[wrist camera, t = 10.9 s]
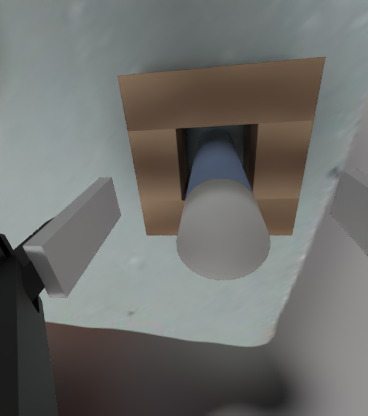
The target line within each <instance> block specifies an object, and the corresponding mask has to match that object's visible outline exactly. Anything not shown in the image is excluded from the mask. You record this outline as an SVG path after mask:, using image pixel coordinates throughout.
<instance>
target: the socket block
mask: <svg viewBox="0 0 368 416" xmlns="http://www.w3.org/2000/svg"><path fill="white" fill-rule="evenodd" d="M324 62H325V57H317V58H306V59H295V60H284V61H273V62H262V63H252V64H241V65H230V66H219V67H208V68H197V69H186V70H175V71H164V72H153V73H142V74H131V75H121V76H118V81H119V86H120V91H121V97H122V102H123V108H124V113H125V119H126V124H127V130H128V135H129V141H130V146H131V152H132V157H133V163H134V168H135V174H136V179H137V185H138V190H139V195H140V201H141V206H142V212H143V217H144V223H145V228H146V234H147V235H178V231H179V226H180V221H181V217H182V212H183V208H184V203H185V199H186V194H187V189H188V185H189V180H190V176H191V175H188V167H187V152H186V137H185V128H195V127H211V126H228V125H245V142H244V160H243V169H244V172H245V174H246V177H247V179H248V182H249V184H250V187H251V189H252V192H253V194H254V197H255V200H256V202H257V205H258V207H259V210H260V212H261V215H262V217H263V220H264V222H265V225H266V227H267V230H268V233H269V235H292V233H293V228H294V222H295V217H296V212H297V206H298V201H299V196H300V190H301V185H302V180H303V174H304V169H305V164H306V158H307V153H308V148H309V142H310V137H311V132H312V126H313V121H314V116H315V110H316V105H317V100H318V94H319V89H320V84H321V78H322V73H323V68H324Z"/></svg>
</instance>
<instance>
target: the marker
mask: <svg viewBox="0 0 368 416" xmlns="http://www.w3.org/2000/svg"><path fill="white" fill-rule="evenodd" d="M269 250H270V236H269V233H268V230H267V227H266V225H265V222H264V220H263V217H262V215H261V212H260V210H259V207H258V205H257V202H256V200H255V197H254V194H253V192H252V189H251V187H250V184H249V182H248V179H247V177H246V174H245V172H244V169H243V166H242V164H241V161H240V159H239V156H238V154H237V151H236V149H235V146H234V144H233V141H232V139H231V137H230V135H229V134H228V133H227V132H226V131H224V130H222V129H218V128H214V129H210V130H207V131H206V132H204V133H203V134H202V135H201V136H200V138H199V140H198V144H197V148H196V153H195V157H194V162H193V166H192V171H191V176H190V180H189V185H188V189H187V194H186V199H185V203H184V208H183V212H182V217H181V221H180V226H179V231H178V235H177V251H178V254H179V256H180V258H181V260H182V261H183V263H184V264H185V265H186V266H187V267H188V268H189V269H190V270H192V271H193V272H195V273H197V274H198V275H200V276H203V277H206V278H209V279H215V280H232V279H237V278H241V277H244V276H246V275H248V274H250V273H252V272H254V271H255V270H256V269H258V268H259V267H260V266H261V265H262V263H263V262H264V261H265V259H266V258H267V256H268V253H269Z"/></svg>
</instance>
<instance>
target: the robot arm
mask: <svg viewBox="0 0 368 416" xmlns="http://www.w3.org/2000/svg"><path fill="white" fill-rule="evenodd" d="M330 214H331V215H332V216H333V218H334V219H335V220H336V221H337V222H338V223H339V224H340V225H341V227H342V228H343V229H344V230H345V231H346V232H347V233H348V234H349V235H350V237H351V238H352V239H353V240H354V241H355V242H356V243H357V244H358V246H360V248H361V249H362V250H363V251H364V252H365V253H366V255H367V256H368V175H366V174H364V173H363V172H361V171H359V170H358V169H356V170H355V169H354V170H342V172H341V176H340V180H339V183H338V187H337V190H336V194H335V197H334V201H333V205H332V208H331V212H330ZM120 216H121V214H120V209H119V205H118V201H117V197H116V193H115V189H114V185H113V181H112V177H107V178H99V179H98V180H97V181H96V182H94V183H93V184H92V185H91V186H90V187H89V188H88V189H87V190H85V191H84V192H83V193H82V194H81V195H80V196H79V197H77V198H76V199H75V200H74V201H73V202H72V203H71V204H70V205H68V206H67V207H66V208H65V209H64V210H63V211H62V212H60V213H59V214H58V215H57V216H56V217H54V218H52V219H51V220H49V221H47V222H46V223H44V224H43V225H42V226H41V227H40V228H39V230H36V231H35V232H34V233H33V235H30V236H29V237H28V238H27V239H26V240H25V241H23V242H22V243H21V244H20V245H19V246H18V247H17V248H15V249H14V250H13V249H12V247H11V245H10V244H9V242H8V240H7V238H6V236H5V235H3V234H0V416H58V411H57V405H56V397H55V390H54V383H53V376H52V369H51V362H50V355H49V347H48V340H47V333H46V326H45V319H44V312H43V305H42V300H41V298H40V297H39V294H40V292H41V291H42V290H43V289H44V288H45V289H46V291H47V293H48V295H49V297H54V298H67V297H68V295H69V294H70V292H71V291H72V289H73V288H74V286H75V284H76V283H77V281H78V280H79V278H80V277H81V275H82V274H83V272H84V271H85V269H86V268H87V266H88V265H89V263H90V262H91V260H92V259H93V257H94V256H95V254H96V253H97V251H98V250H99V248H100V247H101V245H102V244H103V242H104V241H105V239H106V238H107V236H108V235H109V233H110V232H111V230H112V229H113V227H114V226H115V224H116V223H117V221H118V219H119V218H120Z"/></svg>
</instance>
